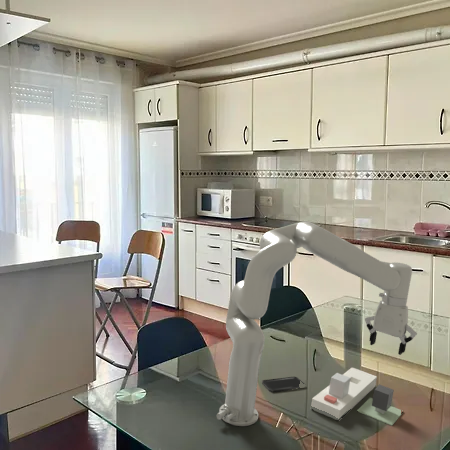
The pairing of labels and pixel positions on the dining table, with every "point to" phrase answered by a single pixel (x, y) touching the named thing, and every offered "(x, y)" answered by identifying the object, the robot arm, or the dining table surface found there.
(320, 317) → the dining table surface
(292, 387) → the phone
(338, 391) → the block
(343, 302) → the dining table surface
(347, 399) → the power strip
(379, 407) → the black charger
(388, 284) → the robot arm
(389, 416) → the green mat
